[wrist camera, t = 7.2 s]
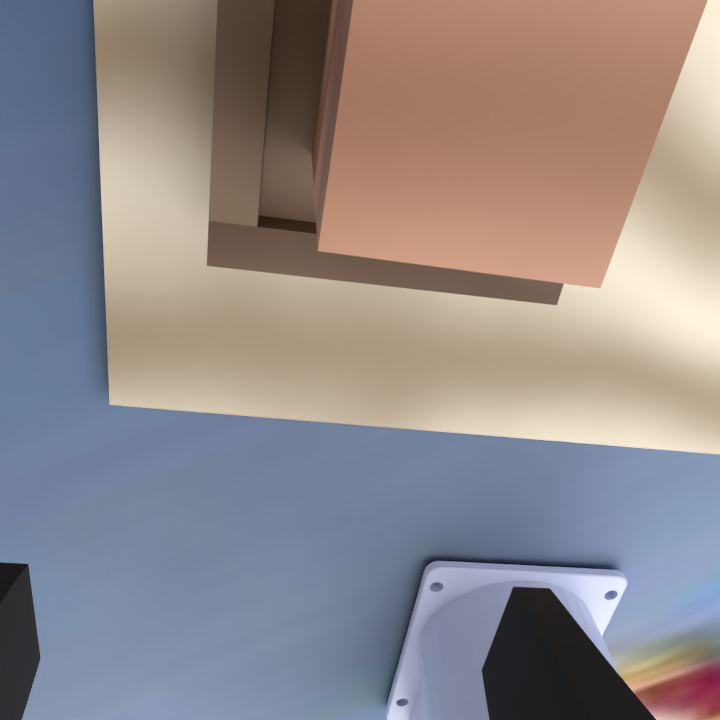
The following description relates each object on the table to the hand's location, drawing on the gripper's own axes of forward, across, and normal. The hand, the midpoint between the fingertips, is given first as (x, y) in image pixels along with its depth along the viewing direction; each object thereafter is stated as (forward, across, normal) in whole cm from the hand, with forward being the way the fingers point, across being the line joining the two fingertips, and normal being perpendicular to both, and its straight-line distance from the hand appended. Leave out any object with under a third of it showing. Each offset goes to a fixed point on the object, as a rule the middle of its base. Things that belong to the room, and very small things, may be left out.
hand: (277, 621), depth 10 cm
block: (+7, -2, -7) cm, 11 cm away
